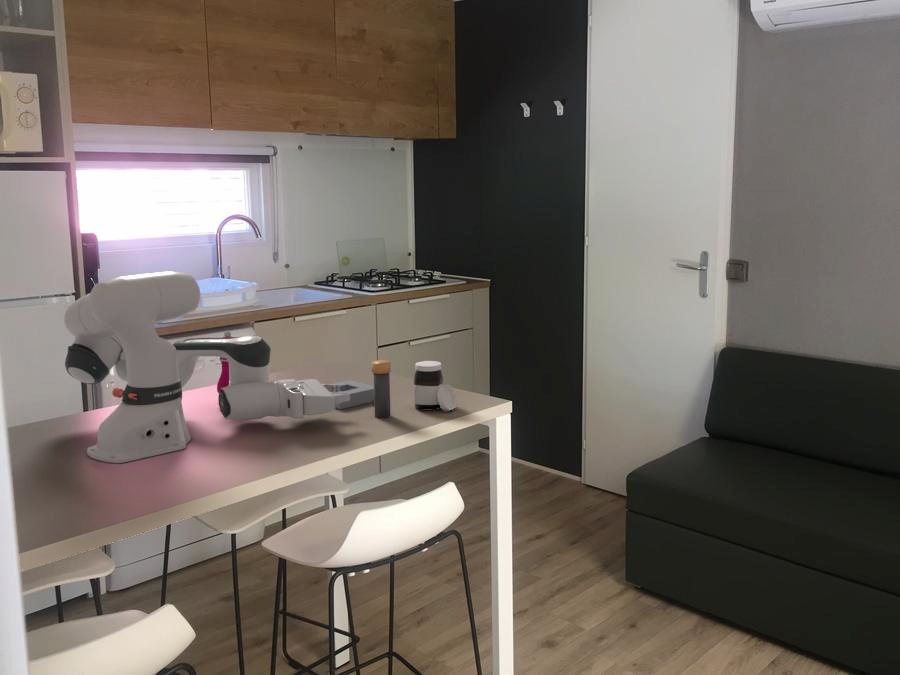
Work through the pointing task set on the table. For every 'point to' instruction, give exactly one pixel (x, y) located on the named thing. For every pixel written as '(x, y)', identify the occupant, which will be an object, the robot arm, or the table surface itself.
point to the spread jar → (432, 387)
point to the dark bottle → (381, 388)
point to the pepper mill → (224, 368)
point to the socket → (354, 393)
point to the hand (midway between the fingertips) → (344, 392)
